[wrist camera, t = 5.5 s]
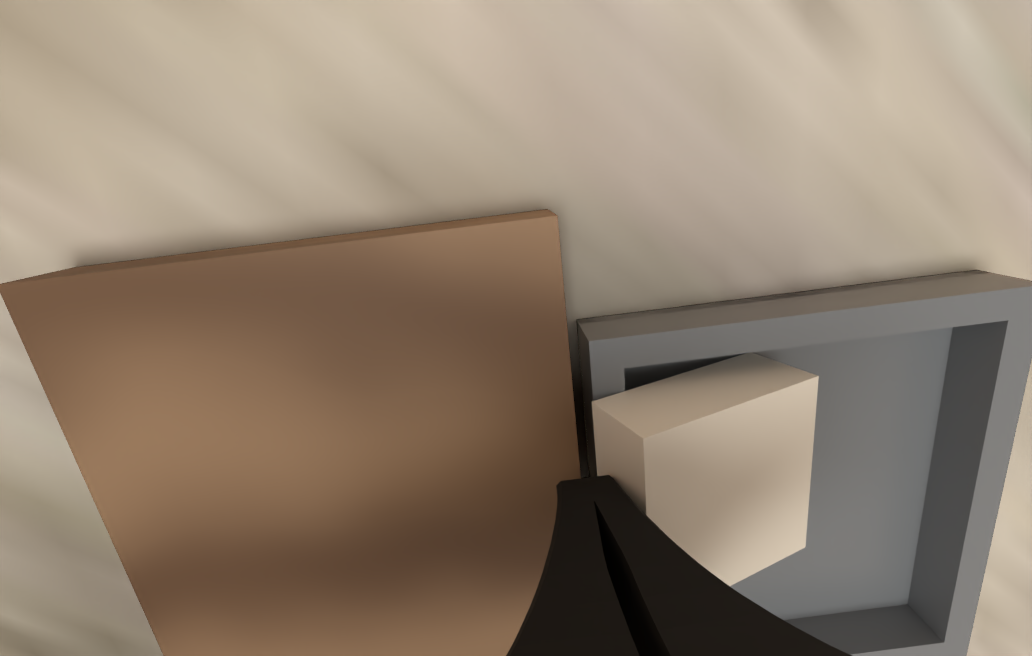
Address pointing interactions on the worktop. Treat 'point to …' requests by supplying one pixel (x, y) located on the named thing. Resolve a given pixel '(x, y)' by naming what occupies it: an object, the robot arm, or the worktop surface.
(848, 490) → the tray
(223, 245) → the worktop surface
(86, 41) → the worktop surface
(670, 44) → the worktop surface
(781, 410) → the block
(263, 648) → the board
